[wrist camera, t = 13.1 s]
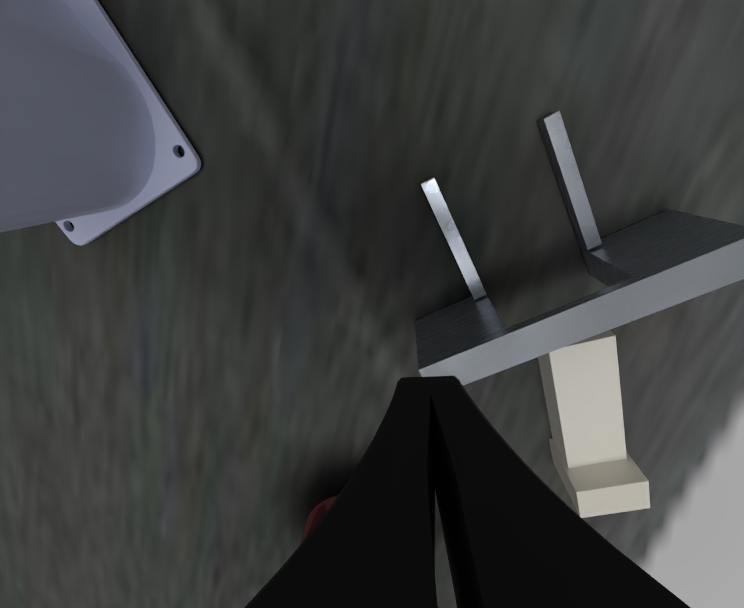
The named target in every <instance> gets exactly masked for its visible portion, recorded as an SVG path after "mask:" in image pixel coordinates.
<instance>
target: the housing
mask: <svg viewBox="0 0 744 608" xmlns="http://www.w3.org/2000/svg"><path fill="white" fill-rule="evenodd" d="M537 123H538V126H539V128H540V131H541V134H542V137H543V140H544V143H545V146H546V149H547V152H548V155H549V158H550V161H551V164H552V167H553V169H554V172H555V175H556V178H557V181H558V184H559V187H560V190H561V193H562V196H563V199H564V202H565V205H566V208H567V211H568V213H569V216H570V219H571V222H572V225H573V228H574V231H575V234H576V237H577V240H578V243H579V246H581V248H580V249H581V252H582V254H583V257H584V260H585V263H586V266H587V269H588V272H589V274H590V275H591V276H593V277H595V278H596V279H598V280H599V281H601V282H602V283H604V284H605V285H607V286H608V287H607V288H605V289H602V290H600V291H598V292H595V293H593V294H590V295H588V296H585V297H583V298H580V299H578V300H575V301H573V302H571V303H568V304H566V305H563V306H561V307H558V308H556V309H553V310H551V311H549V312H546V313H544V314H541V315H539V316H536V317H534V318H531V319H529V320H526V321H524V322H522V323H519V324H517V325H514V326H512V327H509V328H506V327H505V325H504V323H503V322H502V320H501V318H500V317H499V315H498V313H497V311H496V310H495V308H494V306H493V305H492V303H491V301H490V300H489V298H488V296H487V295H486V292H485V290H484V287H483V285H482V283H481V281H480V278H479V276H478V274H477V272H476V270H475V267H474V265H473V263H472V261H471V258H470V256H469V254H468V252H467V250H466V247H465V245H464V243H463V241H462V238H461V236H460V234H459V232H458V230H457V227H456V225H455V223H454V221H453V218H452V216H451V214H450V212H449V210H448V207H447V205H446V203H445V201H444V198H443V196H442V194H441V192H440V190H439V187H438V185H437V183H436V181H435V178H434V177H432V178H430V179H428V180H426V181H424V182H422V183H420V184H421V186H422V188H423V190H424V193H425V195H426V197H427V199H428V201H429V203H430V206H431V208H432V210H433V212H434V214H435V216H436V218H437V221H438V223H439V225H440V227H441V229H442V231H443V233H444V236H445V238H446V240H447V242H448V244H449V246H450V249H451V251H452V253H453V255H454V257H455V259H456V261H457V264H458V266H459V268H460V270H461V272H462V274H463V277H464V279H465V281H466V283H467V285H468V287H469V289H470V292H471V294H472V296H470V297H467V298H465V299H463V300H461V301H458V302H456V303H454V304H451V305H449V306H447V307H445V308H442V309H440V310H438V311H436V312H433V313H431V314H429V315H427V316H424V317H422V318H420V319H417V320H415V330H416V343H417V356H418V370H419V372H420V374H421V375H422V377H430V376H455V377H457V378H458V379H459V380H460V382H461V384H462V385H466V384H468V383H471V382H473V381H476V380H479V379H481V378H484V377H487V376H489V375H492V374H494V373H497V372H500V371H502V370H505V369H508V368H510V367H513V366H516V365H518V364H521V363H523V362H526V361H529V360H531V359H534V358H537V357H539V356H542V355H544V354H547V353H550V352H552V351H555V350H558V349H560V348H563V347H565V346H568V345H571V344H573V343H576V342H579V341H581V340H584V339H587V338H589V337H592V336H594V335H597V334H600V333H602V332H605V331H608V330H610V329H613V328H615V327H618V326H621V325H623V324H626V323H629V322H631V321H634V320H636V319H639V318H642V317H644V316H647V315H650V314H652V313H655V312H658V311H660V310H663V309H665V308H668V307H671V306H673V305H676V304H679V303H681V302H684V301H686V300H689V299H692V298H694V297H697V296H700V295H702V294H705V293H707V292H710V291H713V290H715V289H718V288H721V287H723V286H726V285H729V284H731V283H734V282H736V281H739V280H742V279H744V226H742V225H738V224H733V223H729V222H724V221H719V220H715V219H710V218H706V217H701V216H696V215H692V214H687V213H682V212H678V211H673V210H669V209H667V210H665V211H662V212H660V213H658V214H656V215H653V216H651V217H649V218H647V219H644V220H642V221H640V222H637V223H635V224H633V225H631V226H628V227H626V228H624V229H622V230H619V231H617V232H615V233H613V234H610V235H608V236H606V237H603V238H601V239H600V236H599V233H598V230H597V227H596V224H595V221H594V217H593V214H592V211H591V208H590V205H589V202H588V199H587V195H586V192H585V189H584V186H583V183H582V180H581V177H580V174H579V170H578V167H577V164H576V161H575V158H574V155H573V152H572V148H571V145H570V142H569V139H568V136H567V133H566V130H565V127H564V123H563V120H562V117H561V114H560V111H557V112H553V113H550V114H549V115H547V116H545V117H543V118H541V119H539V120H537Z"/></svg>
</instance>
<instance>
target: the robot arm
mask: <svg viewBox="0 0 744 608" xmlns="http://www.w3.org/2000/svg"><path fill="white" fill-rule="evenodd" d="M180 145H181V146H182V147H183V148H184V151H185V154H184V156H183V157H181V156H180V155H179V153H178V147H179V146H180ZM200 168H201V160H200V158H199V156H198V154H197V153H196V151H195V150H194V148H193V147H192V145H191V144H190V142H189V140H188V139H187V137H186V136H185V134H184V133H183V131H182V130H181V128H180V127H179V125H178V123H177V122H176V120H175V119H174V117H173V116H172V114H171V113H170V111H169V110H168V108H167V106H166V105H165V103H164V102H163V100H162V99H161V97H160V96H159V94H158V93H157V91H156V89H155V88H154V86H153V85H152V83H151V82H150V80H149V79H148V77H147V76H146V74H145V73H144V71H143V69H142V68H141V66H140V65H139V63H138V62H137V60H136V59H135V57H134V56H133V54H132V52H131V51H130V49H129V48H128V46H127V45H126V43H125V42H124V40H123V39H122V37H121V35H120V34H119V32H118V31H117V29H116V28H115V26H114V25H113V23H112V22H111V20H110V18H109V17H108V15H107V14H106V12H105V11H104V9H103V8H102V6H101V5H100V3H99V1H98V0H0V232H5V231H10V230H15V229H20V228H25V227H30V226H35V225H40V224H45V223H50V222H56V223H57V225H58V226H59V227H60V228H61V230H62V231H63V232H64V233H65V234H66V236H67V237H68V238H69V239H70V240H71V241H72V242H73V243H74V244H76V245H85V244H88V243H90V242H92V241H93V240H95V239H96V238H98V237H99V236H101V235H102V234H104V233H105V232H107V231H108V230H110V229H111V228H113V227H115V226H116V225H118V224H119V223H121V222H122V221H124V220H125V219H127V218H128V217H130V216H131V215H133V214H134V213H136V212H138V211H139V210H141V209H142V208H144V207H145V206H147V205H148V204H150V203H151V202H153V201H154V200H156V199H157V198H159V197H161V196H162V195H164V194H165V193H167V192H168V191H170V190H171V189H173V188H174V187H176V186H177V185H179V184H180V183H182V182H184V181H185V180H187V179H188V178H190V177H191V176H193V175H194V174H196V173H197V172H198V171H199V170H200ZM70 222H71V223H72V224H73V225H74V229H73V228H72V227H71V225H70ZM435 490H436V495H437V501H438V506H439V512H440V517H441V522H442V528H443V533H444V538H445V544H446V549H447V554H448V560H449V565H450V570H451V576H452V581H453V586H454V592H455V597H456V604H457V608H690V607H689V606H688V605H686V604H685V603H684V602H683V601H681V600H680V599H679V598H678V597H676V596H675V595H674V594H673V593H671V592H670V591H669V590H668V589H666V588H665V587H664V586H663V585H661V584H660V583H659V582H657V581H656V580H655V579H654V578H652V577H651V576H650V575H649V574H648V573H646V572H645V571H644V570H643V569H641V568H640V567H639V566H638V565H636V564H635V563H634V562H633V561H631V560H630V559H629V558H628V557H626V556H625V555H624V554H622V553H621V552H620V551H619V550H617V549H616V548H615V547H614V546H613V545H612V544H610V543H609V542H608V541H607V540H606V539H605V538H604V537H602V536H601V535H600V534H599V533H598V532H597V531H596V530H594V529H593V528H592V527H591V526H590V525H589V524H588V523H586V522H585V521H584V520H583V519H582V518H581V517H580V516H579V515H577V514H576V513H575V512H574V511H573V510H572V509H571V508H570V507H569V506H568V505H567V504H566V503H565V502H563V501H562V500H561V499H560V498H559V497H558V496H557V495H556V494H555V493H554V492H553V491H552V490H551V489H550V488H549V487H548V486H547V485H546V484H545V483H544V482H543V481H542V480H541V479H540V478H539V477H538V476H537V475H536V474H535V473H534V472H533V471H532V470H531V469H530V468H529V467H528V466H527V465H526V464H525V462H524V461H523V460H522V459H521V458H520V457H519V456H518V455H517V454H516V453H515V452H514V451H513V449H512V448H511V447H510V446H509V445H508V444H507V443H506V442H505V440H504V439H503V438H502V437H501V436H500V434H499V433H498V432H497V431H496V430H495V428H494V427H493V426H492V425H491V424H490V422H489V421H488V420H487V419H486V417H485V416H484V415H483V414H482V412H481V411H480V410H479V408H478V407H477V406H476V404H475V403H474V402H473V400H472V399H471V397H470V396H469V395H468V393H467V392H466V390H465V389H464V387H463V385H462V384H461V382H460V380H459V379H458V378H457V377H455V376H430V377H407V378H401V379H400V380H399V381H398V382H397V386H396V390H395V393H394V396H393V398H392V401H391V403H390V406H389V408H388V410H387V412H386V415H385V417H384V419H383V421H382V423H381V425H380V427H379V429H378V431H377V433H376V435H375V437H374V439H373V440H372V442H371V444H370V446H369V448H368V449H367V451H366V453H365V454H364V456H363V458H362V459H361V461H360V463H359V464H358V466H357V468H356V469H355V471H354V473H353V474H352V476H351V477H350V479H349V480H348V482H347V483H346V485H345V486H344V488H343V489H342V491H341V492H340V494H339V495H338V497H337V498H336V499H335V501H334V502H333V503H332V505H331V506H330V508H329V509H328V510H327V512H326V513H325V514H324V516H323V517H322V518H321V520H320V521H319V522H318V523H317V525H316V526H315V527H314V528H313V530H312V531H311V532H310V534H309V535H308V536H307V537H306V539H305V540H304V541H303V542H302V544H301V545H300V546H299V547H298V549H297V550H296V551H295V552H294V553H293V555H292V556H291V557H290V558H289V559H288V560H287V562H286V563H285V564H284V565H283V566H282V567H281V569H280V570H279V571H278V572H277V573H276V574H275V575H274V576H273V577H272V579H271V580H270V581H269V582H268V583H267V584H266V585H265V586H264V587H263V588H262V589H261V590H260V591H259V593H258V594H257V595H256V596H255V597H254V598H253V599H252V600H251V601H250V602H249V603H248V604H247V606H246V607H245V608H437V596H436V584H435Z"/></svg>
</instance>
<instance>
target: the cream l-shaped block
mask: <svg viewBox="0 0 744 608" xmlns="http://www.w3.org/2000/svg"><path fill="white" fill-rule="evenodd" d="M538 361H539V367H540V372H541V378H542V383H543V389H544V394H545V400H546V405H547V411H548V417H549V422H550V428H551V433H552V438H551V439H549V443H550V448H551V454H552V459H553V463H554V465H555V467H556V469H557V471H558V473H559V475H560V477H561V479H562V481H563V483H564V485H565V488H566V490H567V492H568V494H569V496H570V498H571V500H572V502H573V504H574V506H575V508H576V510H577V512H578V514H579V516H580V517H581V518H584V517H591V516H598V515H605V514H612V513H619V512H626V511H632V510H639V509H646V508H650V497H649V482H648V480H647V478H646V477H645V476H644V474H643V473H642V472H641V470H640V469H639V468H638V466H637V465H636V464H635V463H634V461H633V460H632V459H631V457H630V456H629V455H628V453H627V452H626V445H625V434H624V423H623V412H622V401H621V390H620V379H619V368H618V358H617V347H616V336H615V335H614V334H613V333H612V332H611V331H610V330H608V331H605V332H602V333H600V334H597V335H594V336H592V337H589V338H587V339H584V340H581V341H579V342H576V343H573V344H571V345H568V346H565V347H563V348H560V349H558V350H555V351H552V352H550V353H547V354H544V355H542V356H539V357H538Z"/></svg>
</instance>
